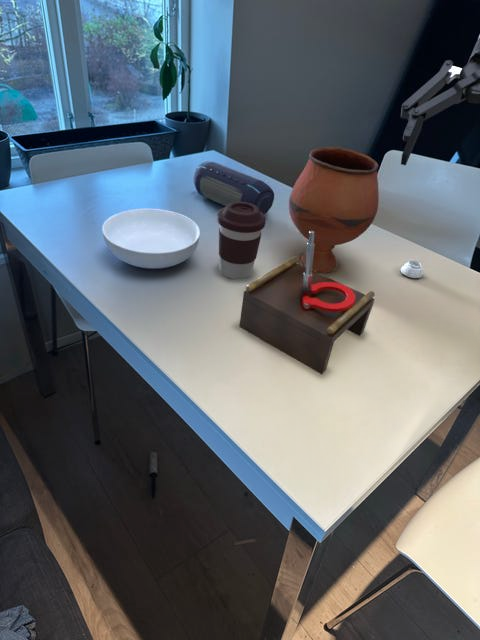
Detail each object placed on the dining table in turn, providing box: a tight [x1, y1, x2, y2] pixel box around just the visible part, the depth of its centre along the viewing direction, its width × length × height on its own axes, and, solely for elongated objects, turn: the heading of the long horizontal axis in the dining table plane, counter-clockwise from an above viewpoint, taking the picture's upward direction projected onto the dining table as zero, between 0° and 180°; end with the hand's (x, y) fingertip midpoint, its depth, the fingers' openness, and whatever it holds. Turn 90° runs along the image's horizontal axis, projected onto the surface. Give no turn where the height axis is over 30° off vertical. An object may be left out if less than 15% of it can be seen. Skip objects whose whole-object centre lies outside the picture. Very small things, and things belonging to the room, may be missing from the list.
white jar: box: [400, 259, 424, 279], centre depth 106 cm, size 5×3×5 cm
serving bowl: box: [101, 208, 201, 269], centre depth 99 cm, size 21×21×7 cm
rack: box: [239, 256, 376, 375], centre depth 82 cm, size 18×16×10 cm
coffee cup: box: [216, 202, 267, 280], centre depth 95 cm, size 10×10×15 cm
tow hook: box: [301, 231, 355, 312], centre depth 74 cm, size 8×13×9 cm
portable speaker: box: [193, 161, 275, 215], centre depth 125 cm, size 25×10×10 cm, turn 50°
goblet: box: [288, 146, 380, 273], centre depth 99 cm, size 19×19×25 cm
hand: (450, 171), depth 64 cm, fingers open, 13 cm apart
